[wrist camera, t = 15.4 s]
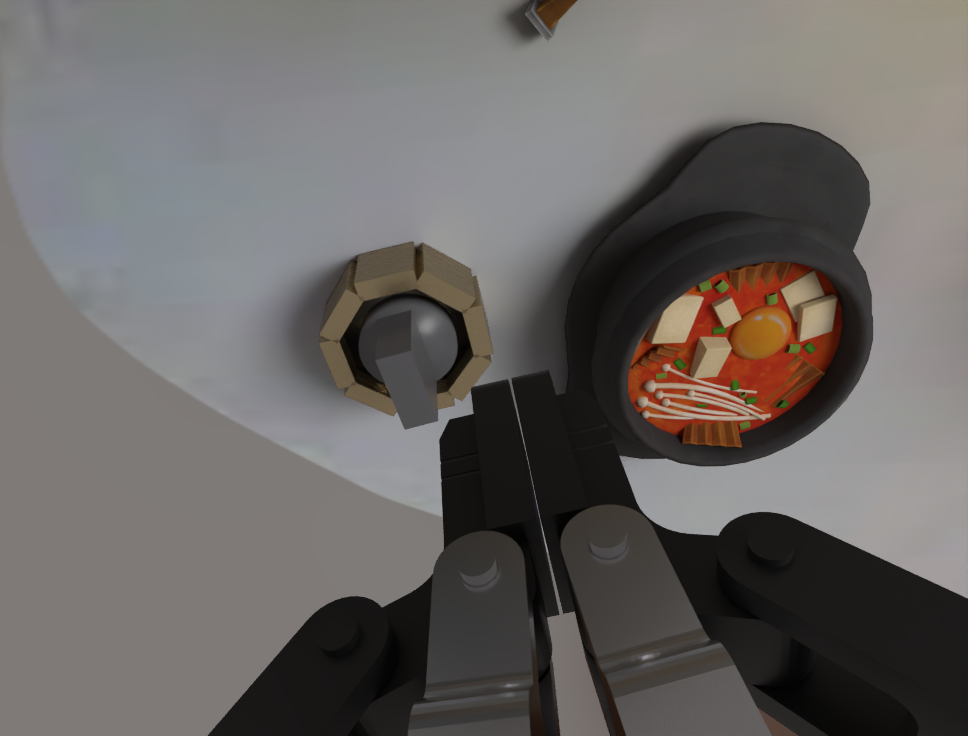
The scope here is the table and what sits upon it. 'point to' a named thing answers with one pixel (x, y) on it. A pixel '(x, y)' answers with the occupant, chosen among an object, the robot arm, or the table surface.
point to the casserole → (728, 302)
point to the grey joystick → (409, 352)
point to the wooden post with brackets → (547, 14)
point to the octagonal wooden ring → (401, 275)
